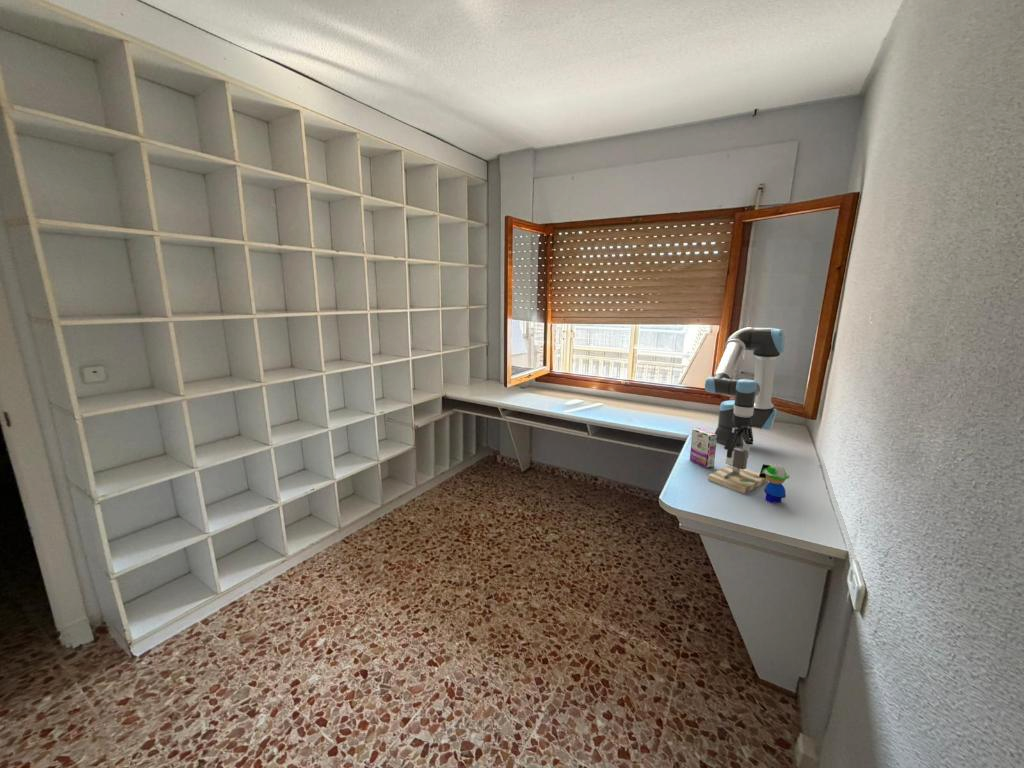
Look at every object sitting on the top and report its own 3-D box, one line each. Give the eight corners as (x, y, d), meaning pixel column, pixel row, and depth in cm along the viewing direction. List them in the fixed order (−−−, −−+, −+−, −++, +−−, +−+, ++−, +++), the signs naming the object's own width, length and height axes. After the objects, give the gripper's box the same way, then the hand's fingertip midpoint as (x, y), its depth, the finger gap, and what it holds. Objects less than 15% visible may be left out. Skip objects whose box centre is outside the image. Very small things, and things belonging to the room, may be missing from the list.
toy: (775, 494, 170) (780, 460, 167) (791, 505, 161) (796, 469, 158) (754, 494, 170) (759, 460, 167) (768, 505, 161) (773, 469, 157)
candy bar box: (714, 466, 197) (718, 434, 193) (706, 468, 195) (710, 435, 192) (696, 458, 207) (699, 427, 204) (689, 459, 205) (691, 428, 202)
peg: (730, 469, 188) (732, 446, 186) (745, 474, 182) (748, 451, 180) (716, 474, 182) (719, 451, 180) (732, 480, 176) (735, 456, 174)
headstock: (731, 469, 194) (732, 464, 194) (767, 481, 181) (768, 475, 181) (707, 479, 183) (708, 474, 183) (744, 493, 170) (745, 487, 170)
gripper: (748, 408, 189) (742, 452, 193) (718, 417, 175) (713, 464, 179) (765, 412, 183) (759, 457, 187) (736, 421, 169) (730, 470, 173)
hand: (737, 460), depth 183 cm, fingers open, 13 cm apart
